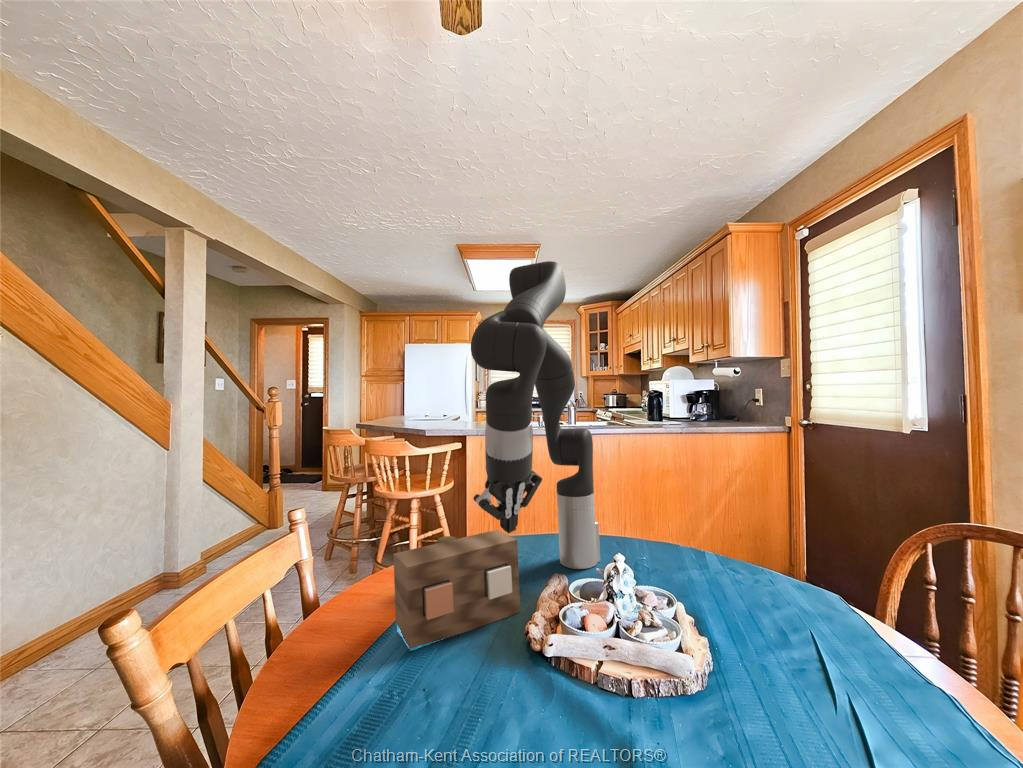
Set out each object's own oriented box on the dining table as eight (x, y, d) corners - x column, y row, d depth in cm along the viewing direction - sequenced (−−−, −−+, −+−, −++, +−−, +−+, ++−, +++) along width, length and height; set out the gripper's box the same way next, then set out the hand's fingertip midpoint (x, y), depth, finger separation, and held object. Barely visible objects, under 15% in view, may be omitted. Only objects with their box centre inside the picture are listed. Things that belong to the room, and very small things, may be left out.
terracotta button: (435, 593, 81) (434, 567, 81) (453, 611, 74) (452, 583, 74) (410, 600, 78) (409, 574, 79) (427, 620, 71) (426, 591, 71)
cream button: (490, 577, 87) (489, 553, 87) (512, 592, 80) (511, 566, 80) (469, 583, 85) (468, 558, 85) (489, 599, 77) (488, 573, 78)
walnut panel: (499, 596, 89) (497, 529, 90) (520, 612, 82) (517, 539, 83) (396, 630, 78) (393, 553, 78) (410, 652, 71) (407, 567, 71)
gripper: (527, 423, 73) (526, 503, 81) (460, 447, 66) (465, 532, 74) (556, 442, 68) (551, 526, 75) (486, 471, 61) (488, 560, 68)
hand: (508, 529), depth 74 cm, fingers closed
